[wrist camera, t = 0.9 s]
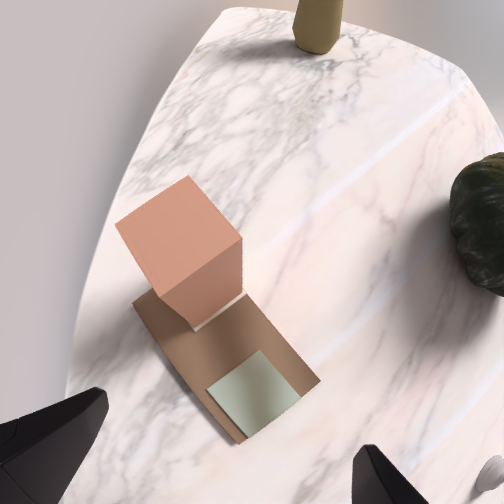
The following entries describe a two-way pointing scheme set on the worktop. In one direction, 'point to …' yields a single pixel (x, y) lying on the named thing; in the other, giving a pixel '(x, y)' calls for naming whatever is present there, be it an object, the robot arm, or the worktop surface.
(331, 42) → the squeeze bottle
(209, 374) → the walnut board
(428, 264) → the worktop surface
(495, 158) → the squash
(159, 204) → the terracotta block
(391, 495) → the robot arm
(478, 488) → the chalice
